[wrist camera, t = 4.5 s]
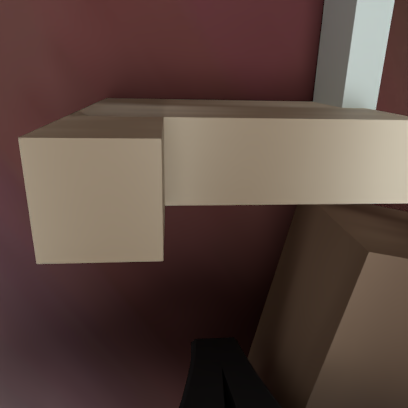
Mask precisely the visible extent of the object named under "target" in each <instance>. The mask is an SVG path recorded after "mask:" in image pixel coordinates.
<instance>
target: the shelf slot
mask: <svg viewBox="0 0 408 408" xmlns="http://www.w3.org/2000/svg"><path fill="white" fill-rule="evenodd" d="M18 140H19V147H20V154H21V161H22V168H23V175H24V182H25V188H26V195H27V202H28V209H29V216H30V223H31V230H32V237H33V244H34V250H35V257H36V264H60V263H104V262H148V261H163V255H164V220H165V206H177V205H286V204H395V203H408V116H404V115H398V114H393V113H388V112H383V111H378V110H372V109H367V108H341V107H336V106H331V105H327V104H322V103H317V102H312V101H252V100H192V99H133V98H106V99H104V100H101V101H99V102H97V103H95V104H92V105H90V106H88V107H86V108H84V109H81V110H79V111H77V112H75V113H72V114H70V115H68V116H66V117H63V118H61V119H59V120H57V121H54V122H52V123H50V124H48V125H45V126H43V127H41V128H39V129H36V130H34V131H32V132H30V133H28V134H25V135H23V136H21V137H19V138H18Z"/></svg>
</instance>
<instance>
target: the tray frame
mask: <svg viewBox="0 0 408 408" xmlns="http://www.w3.org/2000/svg"><path fill="white" fill-rule="evenodd" d="M393 6H394V0H325V1H324V10H323V18H322V27H321V35H320V44H319V53H318V61H317V70H316V78H315V87H314V96H313V102H317V103H322V104H327V105H331V106H336V107H341V108H367V109H372V110H376V105H377V99H378V93H379V87H380V82H381V76H382V70H383V64H384V58H385V53H386V47H387V41H388V35H389V29H390V24H391V18H392V12H393Z"/></svg>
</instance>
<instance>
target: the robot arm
mask: <svg viewBox="0 0 408 408" xmlns="http://www.w3.org/2000/svg"><path fill="white" fill-rule="evenodd" d="M179 408H282V407H281V405H280V404H279V403H278V402H277V400H276V399H275V398H274V396H273V395H272V394H271V392H270V391H269V389H268V388H267V387H266V385H265V384H264V383H263V381H262V380H261V378H260V377H259V375H258V374H257V373H256V371H255V370H254V368H253V366H252V365H251V363H250V362H249V360H248V359H247V357H246V355H245V354H244V352H243V350H242V349H241V347H240V345H239V343H238V341H237V340H236V339H235V338H234V337H229V338H206V339H195V340H194V341H192V342H191V362H190V368H189V373H188V377H187V381H186V385H185V389H184V393H183V397H182V400H181V403H180V406H179Z"/></svg>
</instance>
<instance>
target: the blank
mask: <svg viewBox="0 0 408 408" xmlns="http://www.w3.org/2000/svg"><path fill="white" fill-rule="evenodd" d="M247 359H248V360H249V362H250V363H251V365H252V366H253V368H254V370H255V371H256V373H257V374H258V375H259V377H260V378H261V380H262V381H263V383H264V384H265V385H266V387H267V388H268V389H269V391H270V392H271V394H272V395H273V396H274V398H275V399H276V400H277V402H278V403H279V404H280V405H281V407H282V408H408V212H406V211H401V210H396V209H391V208H386V207H381V206H376V205H371V204H297V207H296V210H295V213H294V216H293V219H292V222H291V225H290V228H289V231H288V234H287V237H286V241H285V244H284V247H283V250H282V253H281V256H280V259H279V262H278V265H277V268H276V271H275V274H274V278H273V281H272V284H271V287H270V290H269V293H268V296H267V299H266V302H265V305H264V308H263V311H262V315H261V318H260V321H259V324H258V327H257V330H256V333H255V336H254V339H253V342H252V345H251V349H250V352H249V355H248V358H247Z"/></svg>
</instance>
